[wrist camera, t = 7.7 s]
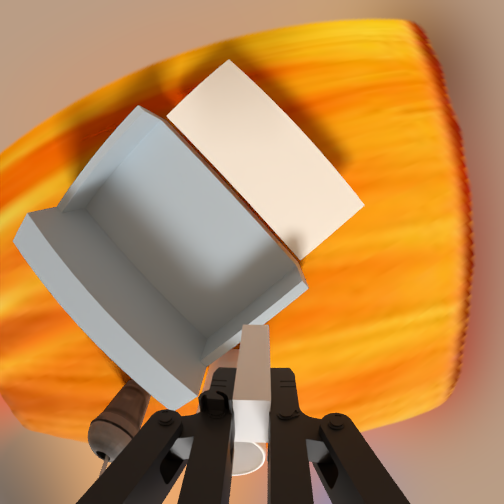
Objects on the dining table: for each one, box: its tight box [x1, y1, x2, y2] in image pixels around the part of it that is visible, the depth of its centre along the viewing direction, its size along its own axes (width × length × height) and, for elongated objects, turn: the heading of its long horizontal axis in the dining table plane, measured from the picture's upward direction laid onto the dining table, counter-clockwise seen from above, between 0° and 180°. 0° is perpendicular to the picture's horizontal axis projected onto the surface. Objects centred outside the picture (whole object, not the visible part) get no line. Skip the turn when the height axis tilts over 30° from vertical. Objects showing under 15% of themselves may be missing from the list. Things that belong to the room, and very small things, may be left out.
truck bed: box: [13, 105, 309, 411], centre depth 30 cm, size 27×18×14 cm, turn 42°
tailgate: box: [167, 59, 364, 260], centre depth 30 cm, size 21×1×9 cm
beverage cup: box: [88, 380, 151, 477], centre depth 33 cm, size 7×7×20 cm
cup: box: [196, 349, 266, 476], centre depth 33 cm, size 8×8×16 cm
